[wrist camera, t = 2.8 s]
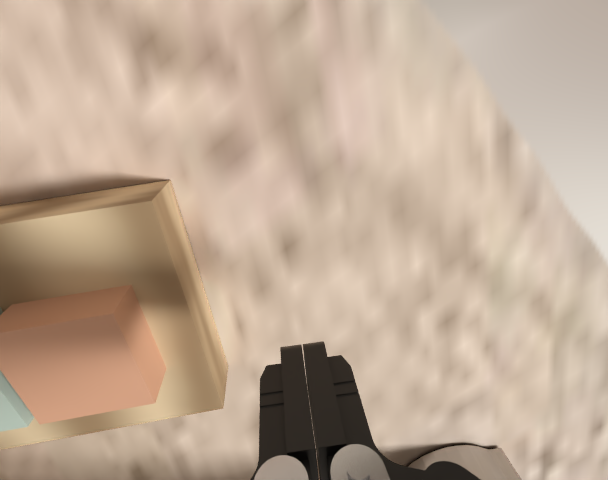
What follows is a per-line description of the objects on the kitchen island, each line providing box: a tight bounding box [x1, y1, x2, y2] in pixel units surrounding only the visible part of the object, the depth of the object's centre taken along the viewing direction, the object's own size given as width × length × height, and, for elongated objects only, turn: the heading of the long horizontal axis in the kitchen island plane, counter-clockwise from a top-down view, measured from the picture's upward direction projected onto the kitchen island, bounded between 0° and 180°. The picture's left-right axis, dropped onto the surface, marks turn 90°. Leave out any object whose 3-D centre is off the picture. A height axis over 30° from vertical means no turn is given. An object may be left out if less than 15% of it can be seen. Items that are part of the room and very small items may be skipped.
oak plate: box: [0, 180, 228, 450], centre depth 17 cm, size 13×12×3 cm
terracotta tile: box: [0, 285, 167, 424], centre depth 15 cm, size 5×5×2 cm
